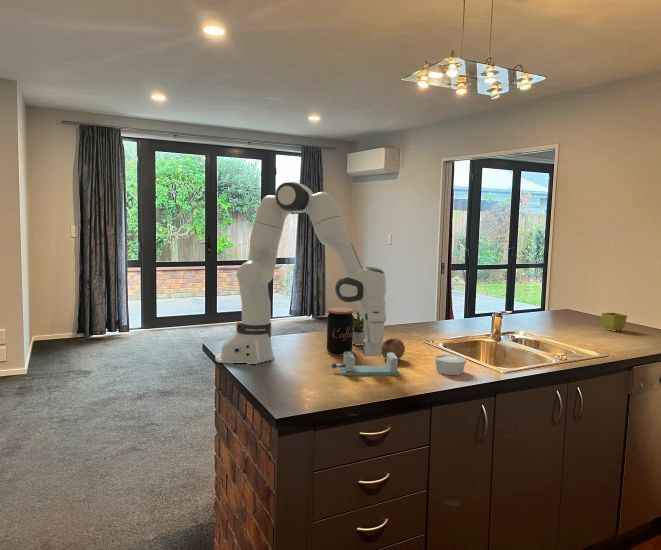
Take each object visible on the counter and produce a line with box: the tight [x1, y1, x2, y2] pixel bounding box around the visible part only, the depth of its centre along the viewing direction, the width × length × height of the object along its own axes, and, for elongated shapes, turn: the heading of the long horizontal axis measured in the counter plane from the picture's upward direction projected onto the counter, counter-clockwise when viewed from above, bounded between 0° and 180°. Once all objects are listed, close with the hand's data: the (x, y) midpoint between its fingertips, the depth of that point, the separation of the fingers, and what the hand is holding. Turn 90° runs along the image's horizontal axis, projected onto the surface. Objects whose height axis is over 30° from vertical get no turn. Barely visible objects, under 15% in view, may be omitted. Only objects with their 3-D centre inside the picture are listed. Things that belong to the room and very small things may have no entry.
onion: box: [381, 337, 406, 360], centre depth 194 cm, size 10×9×10 cm
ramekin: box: [434, 354, 467, 376], centre depth 180 cm, size 11×11×5 cm
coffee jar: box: [326, 306, 354, 355], centre depth 203 cm, size 11×11×18 cm
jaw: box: [331, 351, 356, 371], centre depth 176 cm, size 8×8×5 cm
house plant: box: [352, 310, 367, 345], centre depth 217 cm, size 14×14×16 cm
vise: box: [340, 353, 400, 376], centre depth 177 cm, size 20×8×6 cm, turn 95°
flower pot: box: [601, 312, 628, 331], centre depth 261 cm, size 9×9×9 cm
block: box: [362, 339, 383, 357], centre depth 177 cm, size 6×4×5 cm, turn 95°
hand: (372, 350), depth 177 cm, fingers closed on block, 4 cm apart
